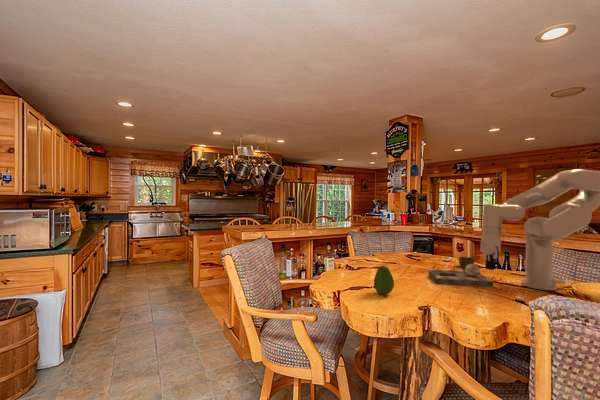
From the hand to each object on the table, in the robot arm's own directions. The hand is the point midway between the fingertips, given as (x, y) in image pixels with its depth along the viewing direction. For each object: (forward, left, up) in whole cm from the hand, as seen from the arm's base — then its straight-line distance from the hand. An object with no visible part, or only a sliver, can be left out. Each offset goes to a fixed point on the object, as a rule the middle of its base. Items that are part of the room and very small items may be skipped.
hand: (489, 269), depth 137 cm
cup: (+3, -19, -7) cm, 20 cm away
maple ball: (+7, -1, -1) cm, 7 cm away
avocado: (+51, +26, -7) cm, 58 cm away
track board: (+13, -1, -7) cm, 15 cm away
